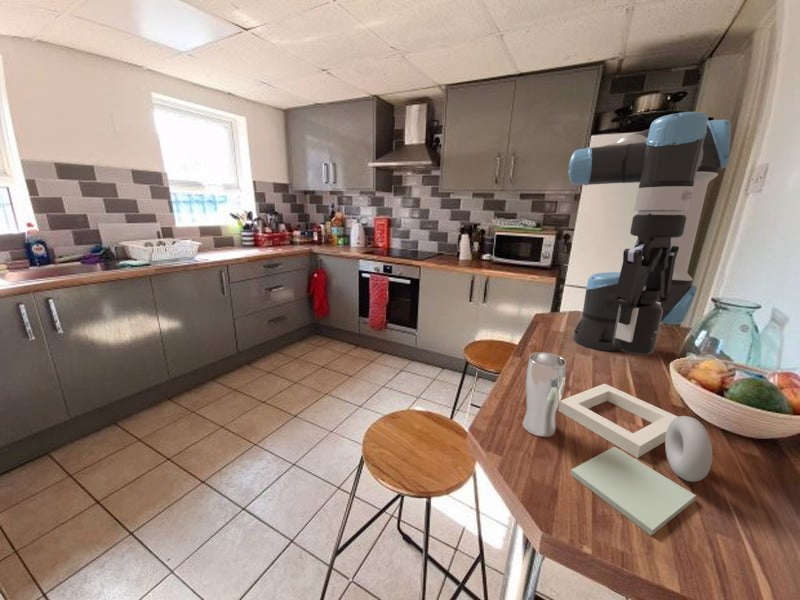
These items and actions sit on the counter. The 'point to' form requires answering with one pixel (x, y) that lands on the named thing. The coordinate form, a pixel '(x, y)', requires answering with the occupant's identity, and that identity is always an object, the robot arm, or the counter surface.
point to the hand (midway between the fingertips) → (634, 335)
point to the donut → (688, 448)
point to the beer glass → (543, 392)
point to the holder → (617, 435)
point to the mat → (633, 489)
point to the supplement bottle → (643, 324)
